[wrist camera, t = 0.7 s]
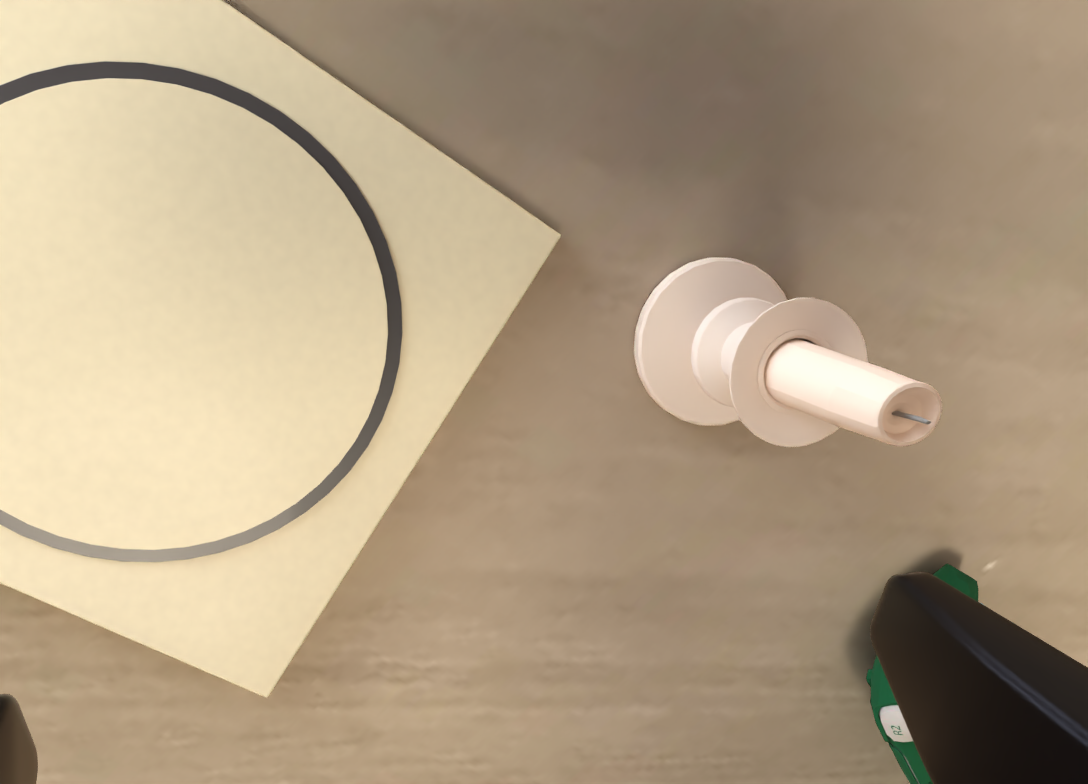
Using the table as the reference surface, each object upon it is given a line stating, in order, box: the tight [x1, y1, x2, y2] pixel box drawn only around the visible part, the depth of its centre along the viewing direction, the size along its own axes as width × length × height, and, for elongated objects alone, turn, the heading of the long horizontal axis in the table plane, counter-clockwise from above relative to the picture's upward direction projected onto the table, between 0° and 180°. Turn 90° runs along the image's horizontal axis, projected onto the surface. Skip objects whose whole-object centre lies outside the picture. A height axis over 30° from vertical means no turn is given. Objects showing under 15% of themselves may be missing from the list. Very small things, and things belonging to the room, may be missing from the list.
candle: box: [634, 257, 942, 447], centre depth 23 cm, size 5×5×10 cm
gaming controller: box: [866, 564, 978, 784], centre depth 31 cm, size 9×4×6 cm
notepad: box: [0, 0, 561, 698], centre depth 23 cm, size 16×16×1 cm
